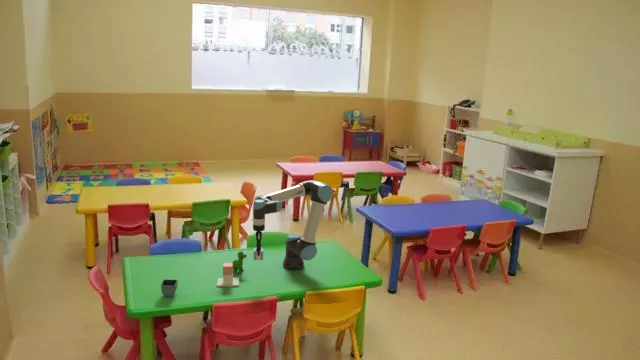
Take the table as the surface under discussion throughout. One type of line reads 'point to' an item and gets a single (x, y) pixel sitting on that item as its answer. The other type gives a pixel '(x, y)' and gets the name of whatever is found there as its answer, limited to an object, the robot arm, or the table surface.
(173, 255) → the table surface
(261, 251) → the brick teal
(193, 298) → the table surface
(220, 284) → the plate
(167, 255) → the table surface
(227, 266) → the brick coral
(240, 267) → the toy
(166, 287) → the flower pot
